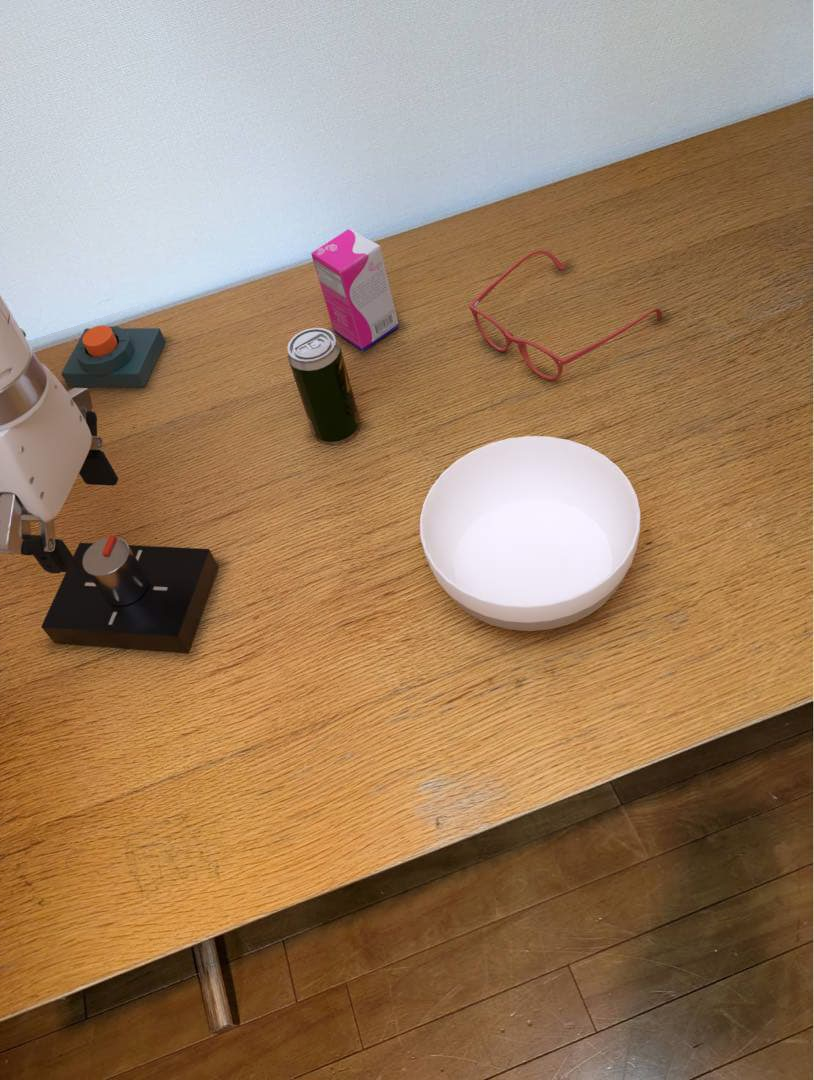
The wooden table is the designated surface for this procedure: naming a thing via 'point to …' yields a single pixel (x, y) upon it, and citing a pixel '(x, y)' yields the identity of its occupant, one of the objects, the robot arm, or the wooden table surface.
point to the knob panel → (136, 603)
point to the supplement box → (356, 289)
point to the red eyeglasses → (523, 342)
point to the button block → (116, 360)
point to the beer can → (324, 385)
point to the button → (99, 341)
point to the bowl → (530, 531)
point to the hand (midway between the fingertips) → (83, 524)
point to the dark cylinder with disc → (115, 571)
